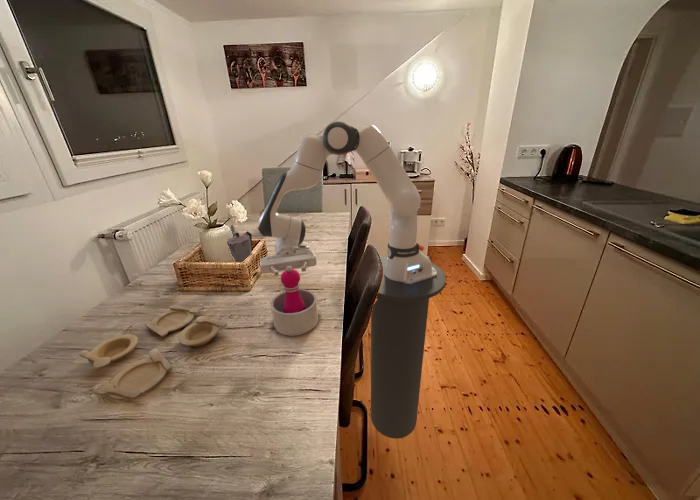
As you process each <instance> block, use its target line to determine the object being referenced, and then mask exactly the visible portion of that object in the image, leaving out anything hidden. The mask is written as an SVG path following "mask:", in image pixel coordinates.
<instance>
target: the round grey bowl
mask: <svg viewBox="0 0 700 500" xmlns="http://www.w3.org/2000/svg"><path fill="white" fill-rule="evenodd" d="M299 294H300V297H301V298H302V300H303V301H304V303H305V310H303V311H300V312H296V313H284V312H283V305H284V302H285V299H286V291H282V292H280V293H278V294H277V295H276V296H274V297H273V298H272V300H271V302H270V310H271V315H272V321H273V326H274V329H275V331H277V332H278V334H281V335H284V336H289V337H290V336H293V337H295V336H300V335H303V334H306V333H308V332H310V331H311V330H313V329H314V328H315V327H316V326H317V324H318V323H319V310H318V298H317V295H316V294H315V293H314V292H313V291H310V290H309V289H303V288H299Z"/></svg>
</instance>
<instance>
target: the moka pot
mask: <svg viewBox="0 0 700 500" xmlns="http://www.w3.org/2000/svg"><path fill="white" fill-rule="evenodd" d="M235 235H236V236H234V237H232V238H229V239H227V241H226V244H227V247H228V246H229V248H228V250H229V249H230V251H231V254H232V256H233V257H234V259H235V261H234V262H235V263H236V262H242V261H243V260H245V259H246V258H247V257H248V256H249V255H250V254H251V255H252V253H253V252H252V251H253V236H252V233H251V232H250V231H248V230H246V231H245V233H242V234H240V233H236V234H235Z"/></svg>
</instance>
